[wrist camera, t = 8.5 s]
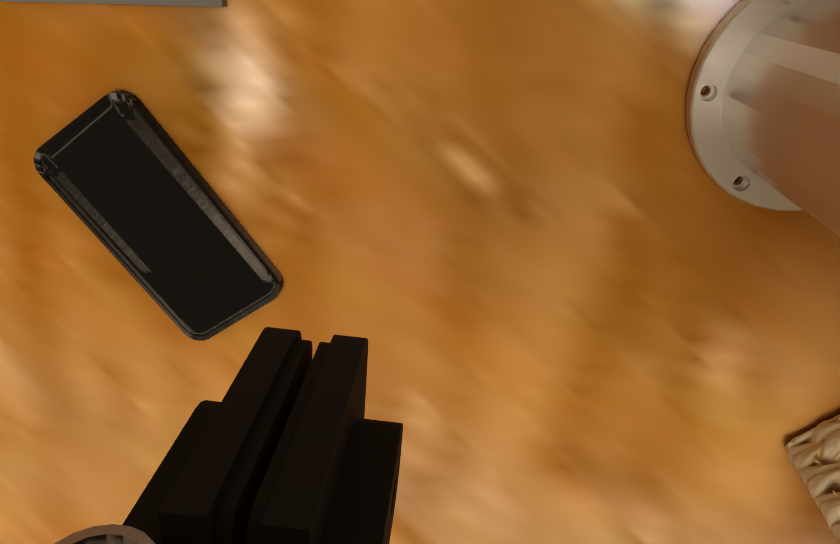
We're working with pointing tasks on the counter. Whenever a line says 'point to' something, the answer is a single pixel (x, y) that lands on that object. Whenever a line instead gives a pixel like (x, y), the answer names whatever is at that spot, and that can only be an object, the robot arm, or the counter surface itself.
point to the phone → (158, 216)
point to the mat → (139, 2)
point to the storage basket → (820, 468)
